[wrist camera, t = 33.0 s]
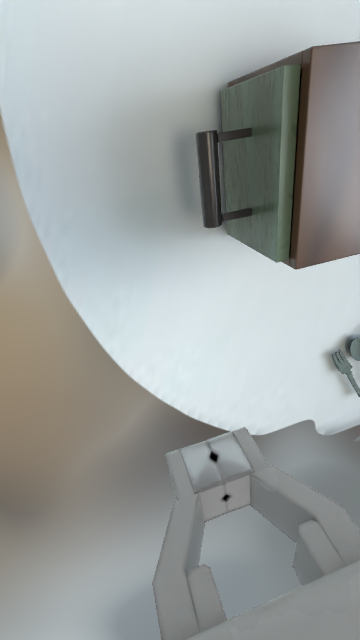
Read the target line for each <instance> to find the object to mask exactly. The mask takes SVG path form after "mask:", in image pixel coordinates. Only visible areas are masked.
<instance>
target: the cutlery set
mask: <svg viewBox="0 0 360 640" xmlns="http://www.w3.org/2000/svg"><path fill="white" fill-rule="evenodd" d="M338 351H339V353H340V356H341V357H340V356H339V354H338V353H337V352H335V353H336V356H337V358H338V360H339V361H338V360H337V358H336V357H335V355H334V354H333V355H332V356H333V359H334V361H335V363H336V365H337V368H338V370H339V371H340V372H341V373H342V374H344V373H345V374H346V375H347V377H348V379H349V381H350V382H351V384H352V386H353V387H354V389H355V390H356V392H357V394H358V396H359V397H360V388H359V387H358V385H357V383H356V382H355V380H354V378H353V376H352V374H351V373H352V372H351V371H350V369H351V368H352V365H351V364H350V363H349V362H348V360H347V359H346V358H345V356H344V355H343V353H342V352H341V350H340V349H339V350H338ZM350 354H351V356H352V357H353V358H354V359H355V360H358V361H360V338H359V337H357V338H356V339H355V340H353V341H352V343H351V346H350ZM341 358H342V359H341Z"/></svg>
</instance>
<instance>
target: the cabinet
mask: <svg viewBox="0 0 360 640" xmlns="http://www.w3.org/2000/svg"><path fill="white" fill-rule="evenodd" d="M294 64H301V69H300V83H301V95H300V111H299V126H298V142H297V158H296V174H295V190H294V206H293V222H292V238H291V240H290V250H289V259H288V260H284V261H281V262H283V263H285V264H287V265H288V266H290V267H292V268H294V269H300V268H304V267H308V266H312V265H316V264H320V263H324V262H328V261H332V260H336V259H340V258H344V257H348V256H352V255H356V254H360V41H359V42H350V43H340V44H331V45H322V46H313V47H310V48H308V49H306V50H304V51H301V52H299V53H296V54H294V55H292V56H289V57H287V58H285V59H282V60H280V61H278V62H275V63H273V64H271V65H268V66H266V67H264V68H261V69H259V70H257V71H254V72H252V73H250V74H247V75H245V76H243V77H240V78H238V79H236V80H233V81H231V82H229V83H228V86H229V87H231V86H234V85H236V84H239V83H241V82H244V81H246V80H249V79H251V78H254V77H257V76H259V75H262V74H264V73H267V72H269V71H272V70H274V69H277V68H279V67H282V66H285V65H294Z"/></svg>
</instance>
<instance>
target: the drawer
mask: <svg viewBox="0 0 360 640" xmlns="http://www.w3.org/2000/svg"><path fill="white" fill-rule="evenodd" d="M300 69H301V64H294V65H285V66H282V67H279V68H277V69H274V70H272V71H269V72H267V73H264V74H262V75H259V76H257V77H254V78H251V79H249V80H246V81H244V82H241V83H239V84H236V85H234V86H231V87H229V88H226V89H224V90H221V91H220V95H221V116H222V132H219V133H217V130H212V131H205V132H198V133H196V144H197V155H198V167H199V178H200V190H201V201H202V213H203V224H204V227H206V228H215V227H219V226H221V225H222V222H224V221H227V234H228V235H230V236H232V237H234V238H235V239H237V240H239V241H240V242H242V243H244V244H246V245H247V246H249V247H251V248H252V249H254V250H256V251H258V252H259V253H261V254H263V255H264V256H266V257H268V258H270V259H271V260H273V261H275V262H280V261H284V260H288V259H289V250H290V240H291V238H292V222H293V206H294V190H295V174H296V171H295V170H294V168H295V151H296V135H297V118H298V112H299V111H300V95H301V83H300ZM221 141H223V158H224V179H225V199H226V213H222V212H221V194H220V176H219V158H218V142H221Z"/></svg>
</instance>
